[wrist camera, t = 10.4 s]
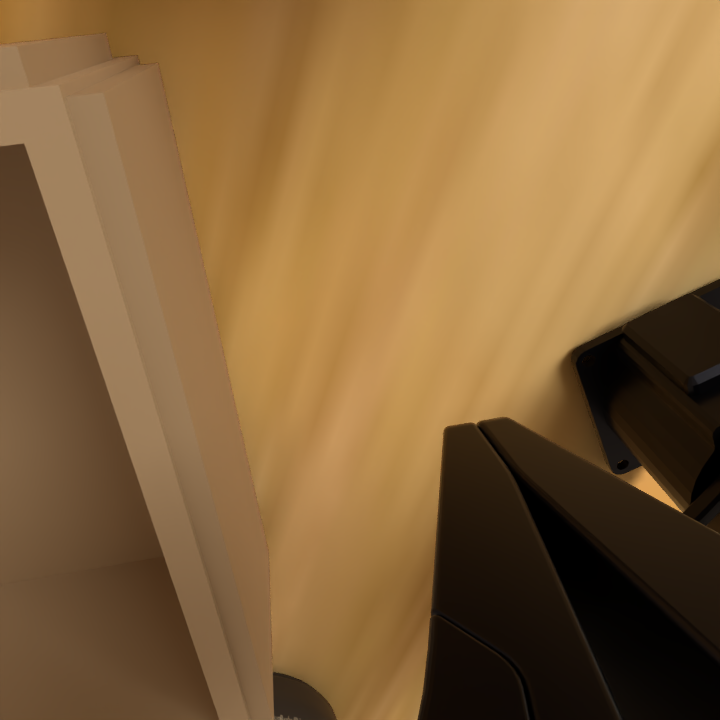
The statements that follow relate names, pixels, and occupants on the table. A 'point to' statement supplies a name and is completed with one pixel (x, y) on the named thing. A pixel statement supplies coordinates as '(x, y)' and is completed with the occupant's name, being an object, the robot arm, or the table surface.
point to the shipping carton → (116, 415)
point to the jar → (298, 700)
